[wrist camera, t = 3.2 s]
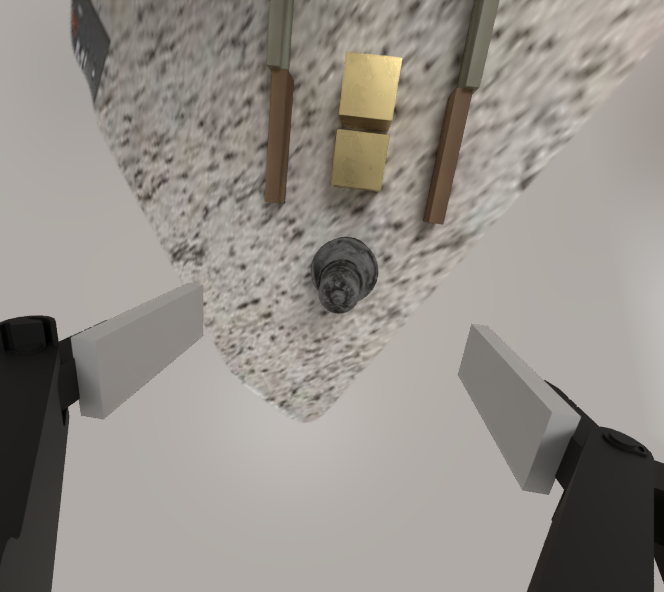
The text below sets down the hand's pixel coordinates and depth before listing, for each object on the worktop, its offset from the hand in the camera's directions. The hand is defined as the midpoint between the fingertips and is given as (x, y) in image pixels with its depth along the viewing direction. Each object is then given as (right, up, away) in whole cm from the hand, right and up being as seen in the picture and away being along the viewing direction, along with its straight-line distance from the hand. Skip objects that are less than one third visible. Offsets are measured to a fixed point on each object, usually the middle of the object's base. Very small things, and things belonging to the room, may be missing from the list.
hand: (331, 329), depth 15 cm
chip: (+3, +18, +11) cm, 22 cm away
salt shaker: (+1, +5, +16) cm, 17 cm away
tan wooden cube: (+3, +13, +13) cm, 19 cm away
